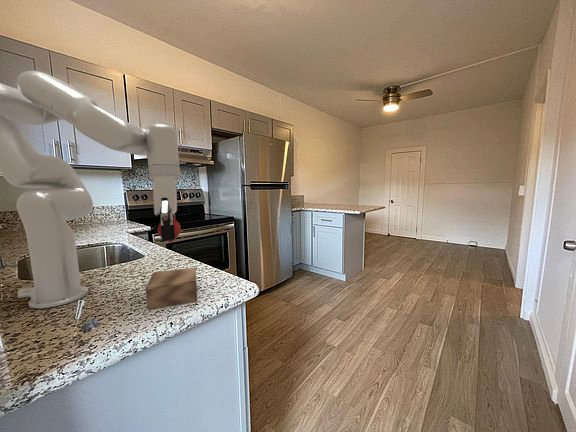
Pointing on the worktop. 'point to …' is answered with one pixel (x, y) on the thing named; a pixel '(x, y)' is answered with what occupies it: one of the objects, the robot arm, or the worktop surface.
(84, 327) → the blueberries
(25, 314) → the worktop surface
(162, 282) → the walnut block
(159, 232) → the onion
